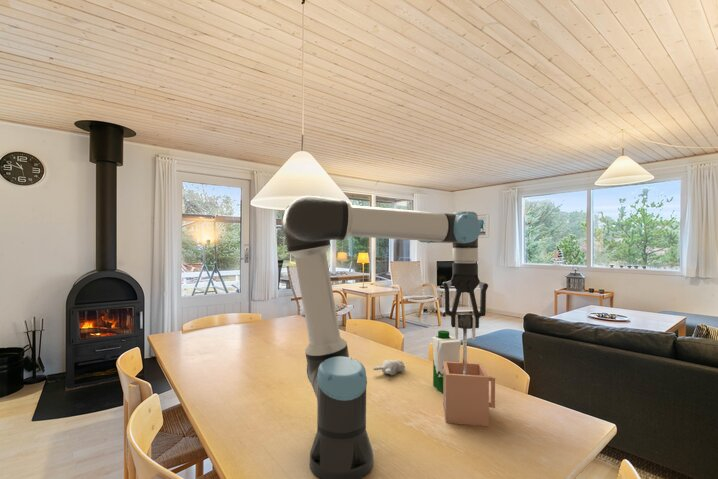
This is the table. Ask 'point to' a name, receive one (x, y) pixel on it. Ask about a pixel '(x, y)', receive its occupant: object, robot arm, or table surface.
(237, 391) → the table surface
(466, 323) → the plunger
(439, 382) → the soya milk
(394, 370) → the bunny figurine
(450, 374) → the square pink mug
